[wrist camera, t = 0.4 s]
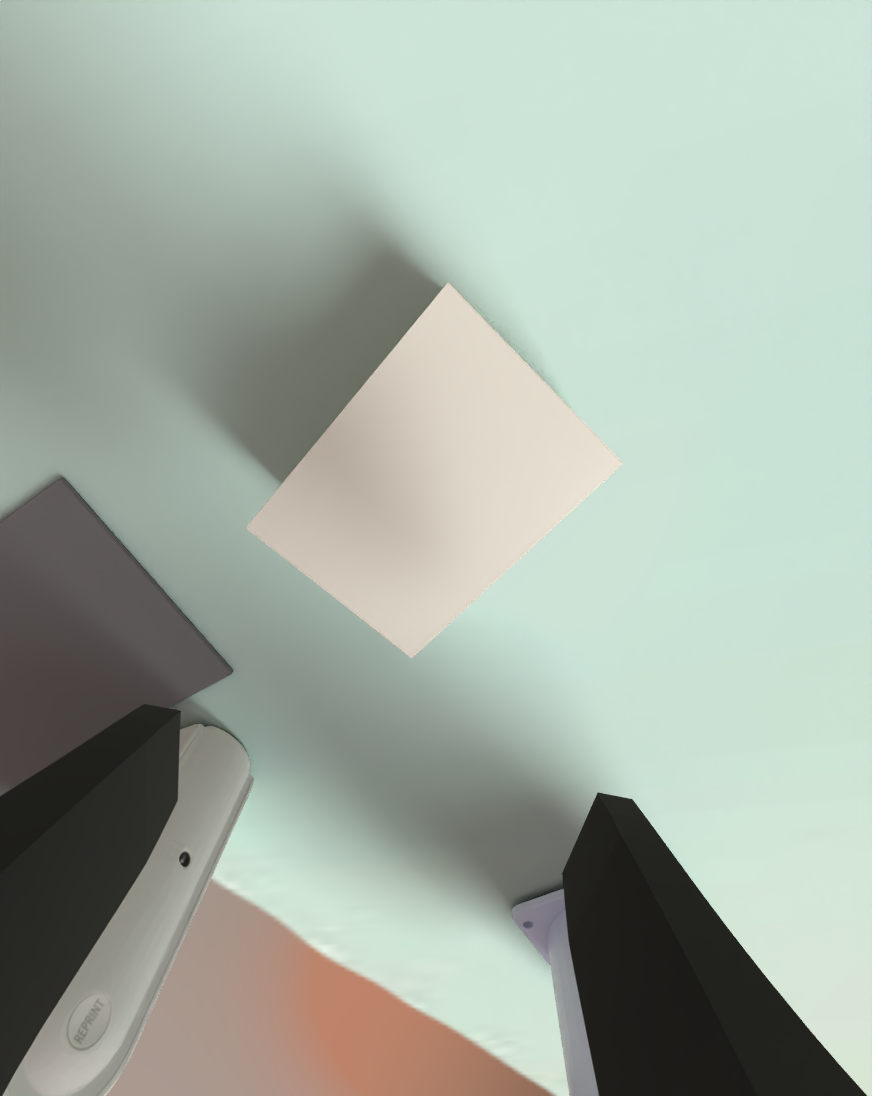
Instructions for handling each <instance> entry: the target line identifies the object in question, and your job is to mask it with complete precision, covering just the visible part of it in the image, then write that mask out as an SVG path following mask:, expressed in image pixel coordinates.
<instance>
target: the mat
mask: <svg viewBox="0 0 872 1096" xmlns="http://www.w3.org/2000/svg"><path fill="white" fill-rule="evenodd" d="M232 672H233V670H232V669H231V668H230V666H229V665H228V664H227V663H226V662H225V661H224V660H223V658H222V657H221V656H220V655H219V654H218V653H217V652H216V651H215V649H214V648H213V647H212V646H211V645H210V644H209V643H208V641H207V640H206V639H205V638H204V637H203V636H202V635H201V633H200V632H199V631H198V630H197V629H196V628H195V627H194V625H193V624H192V623H191V622H190V621H189V620H188V619H187V617H186V616H185V615H184V614H183V613H182V612H181V611H180V610H179V608H178V607H177V606H176V605H175V604H174V603H173V602H172V600H171V599H170V598H169V597H168V596H167V595H166V594H165V592H164V591H163V590H162V589H161V588H160V587H159V586H158V584H157V583H156V582H155V581H154V580H153V579H152V578H151V576H150V575H149V574H148V573H147V572H146V571H145V570H144V568H143V567H142V566H141V565H140V564H139V563H138V562H137V561H136V559H135V558H134V557H133V556H132V555H131V554H130V553H129V551H128V550H127V549H126V548H125V547H124V546H123V545H122V543H121V542H120V541H119V540H118V539H117V538H116V537H115V535H114V534H113V533H112V532H111V531H110V530H109V529H108V527H107V526H106V525H105V524H104V523H103V522H102V521H101V520H100V518H99V517H98V516H97V515H96V514H95V513H94V512H93V510H92V509H91V508H90V507H89V506H88V505H87V504H86V502H85V501H84V500H83V499H82V498H81V497H80V496H79V494H78V493H77V492H76V491H75V490H74V489H73V488H72V486H71V485H70V484H69V483H68V482H67V481H66V480H65V478H62V479H60V480H58V481H57V482H55V483H54V484H53V485H51V486H50V487H48V488H47V489H46V490H44V491H43V492H42V493H40V494H39V495H37V496H36V497H35V498H33V499H32V500H30V501H29V502H28V503H26V504H25V505H24V506H22V507H21V508H19V509H18V510H17V511H15V512H14V513H12V514H11V515H10V516H8V517H7V518H6V519H4V520H3V521H1V522H0V796H1V795H2V794H4V793H5V792H7V791H9V790H10V789H12V788H13V787H15V786H17V785H18V784H20V783H21V782H23V781H25V780H26V779H28V778H29V777H31V776H33V775H34V774H36V773H37V772H39V771H40V770H42V769H44V768H45V767H47V766H48V765H50V764H52V763H53V762H55V761H56V760H58V759H59V758H61V757H62V756H64V755H66V754H67V753H69V752H70V751H72V750H73V749H75V748H76V747H78V746H79V745H81V744H82V743H84V742H86V741H87V740H89V739H90V738H92V737H93V736H95V735H96V734H98V733H99V732H101V731H102V730H104V729H105V728H107V727H108V726H110V725H112V724H113V723H115V722H116V721H118V720H119V719H121V718H122V717H124V716H125V715H127V714H129V713H130V712H132V711H133V710H135V709H137V708H138V707H140V706H141V705H143V704H148V705H153V706H158V707H163V708H169V707H171V706H173V705H174V704H176V703H178V702H180V701H182V700H184V699H186V698H187V697H189V696H191V695H193V694H195V693H197V692H198V691H200V690H202V689H204V688H206V687H208V686H210V685H211V684H213V683H215V682H217V681H219V680H221V679H223V678H224V677H226V676H228V675H230V674H231V673H232Z"/></svg>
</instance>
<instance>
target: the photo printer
mask: <svg viewBox="0 0 872 1096" xmlns="http://www.w3.org/2000/svg"><path fill="white" fill-rule="evenodd" d="M250 766H251V764H250V760H249V757H248V754H247V752H246V751H245V749H244V748H243V746H242V745H241V744H240V743H239V742H238V741H237V740H236V739H235V738H234V737H233V736H231V735H230V734H228V733H227V732H225V731H223V730H221V729H219V728H216V727H214V726H207V727H204V726H203V725H202V724H194V725H191V726H188V727H186V728H183V729H180V745H179V780H178V801H177V803H176V805H175V807H174V809H173V811H172V813H171V815H170V818H169V820H168V822H167V824H166V826H165V828H164V830H163V832H162V834H161V836H160V838H159V840H158V842H157V844H156V846H155V847H154V849H153V851H152V853H151V855H150V857H149V859H148V861H147V863H146V865H145V866H144V868H143V870H142V871H141V873H140V874H139V876H138V878H137V879H136V881H135V883H134V884H133V886H132V887H131V889H130V890H129V892H128V894H127V895H126V897H125V898H124V900H123V902H122V903H121V905H120V906H119V908H118V909H117V911H116V913H115V914H114V916H113V917H112V919H111V920H110V922H109V924H108V925H107V927H106V928H105V930H104V931H103V933H102V935H101V936H100V938H99V939H98V941H97V942H96V944H95V946H94V947H93V949H92V950H91V952H90V953H89V955H88V956H87V958H86V960H85V961H84V963H83V964H82V966H81V967H80V969H79V971H78V972H77V974H76V975H75V977H74V978H73V980H72V982H71V983H70V985H69V986H68V988H67V989H66V991H65V992H64V994H63V996H62V997H61V999H60V1000H59V1002H58V1003H57V1005H56V1007H55V1008H54V1010H53V1011H52V1013H51V1014H50V1016H49V1018H48V1019H47V1021H46V1022H45V1024H44V1025H43V1027H42V1029H41V1030H40V1032H39V1033H38V1035H37V1037H36V1039H35V1040H34V1042H33V1044H32V1045H31V1047H30V1049H29V1050H28V1052H27V1054H26V1055H25V1057H24V1059H23V1060H22V1062H21V1064H20V1065H19V1067H18V1069H17V1070H16V1072H15V1074H14V1076H13V1077H12V1079H11V1081H10V1083H9V1085H8V1087H7V1088H6V1090H5V1092H4V1094H3V1096H106V1095H107V1093H108V1092H109V1091H110V1089H111V1088H112V1087H113V1085H114V1084H115V1082H116V1081H117V1079H118V1078H119V1076H120V1075H121V1073H122V1072H123V1070H124V1068H125V1066H126V1064H127V1063H128V1061H129V1059H130V1057H131V1055H132V1053H133V1051H134V1049H135V1047H136V1044H137V1042H138V1040H139V1038H140V1036H141V1033H142V1031H143V1029H144V1026H145V1024H146V1022H147V1019H148V1017H149V1015H150V1013H151V1011H152V1008H153V1006H154V1004H155V1002H156V999H157V997H158V995H159V993H160V991H161V988H162V986H163V984H164V982H165V980H166V977H167V975H168V973H169V971H170V969H171V966H172V964H173V962H174V959H175V957H176V955H177V953H178V951H179V948H180V946H181V944H182V942H183V939H184V937H185V935H186V932H187V930H188V928H189V926H190V924H191V921H192V919H193V917H194V915H195V912H196V910H197V908H198V906H199V904H200V902H201V899H202V897H203V895H204V893H205V890H206V888H207V886H208V884H209V882H210V880H211V877H212V875H213V873H214V871H215V868H216V866H217V864H218V862H219V859H220V857H221V855H222V853H223V850H224V848H225V846H226V844H227V842H228V839H229V837H230V835H231V833H232V831H233V828H234V826H235V824H236V822H237V820H238V818H239V815H240V813H241V811H242V809H243V807H244V804H245V802H246V800H247V798H248V796H249V793H250V791H251V788H252V785H253V782H254V778H253V777H252V775H251V774H250V773H249V772H250Z"/></svg>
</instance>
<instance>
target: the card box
mask: <svg viewBox="0 0 872 1096" xmlns="http://www.w3.org/2000/svg"><path fill="white" fill-rule="evenodd" d="M622 464H623V462H622V461H621V460H620V459H619V458H618V457H617V456H616V455H615V454H614V453H613V452H612V451H611V450H610V449H609V448H608V447H607V446H606V445H605V444H604V443H603V442H602V441H601V440H600V438H599V437H598V436H597V435H596V434H595V433H594V432H593V431H592V430H591V429H590V428H589V427H588V426H587V425H586V424H585V423H584V422H583V421H582V420H581V419H580V418H579V417H578V416H577V415H576V414H575V413H574V412H573V411H572V410H571V409H570V408H569V407H568V405H567V404H566V403H565V402H564V401H563V400H562V399H561V398H560V397H559V396H558V395H557V394H556V393H555V392H554V391H553V390H552V389H551V388H550V387H549V386H548V385H547V384H546V383H545V382H544V381H543V380H542V379H541V378H540V377H539V376H538V375H537V374H536V372H535V371H534V370H533V369H532V368H531V367H530V366H529V365H528V364H527V363H526V362H525V361H524V360H523V359H522V358H521V357H520V356H519V355H518V354H517V353H516V352H515V351H514V350H513V349H512V348H511V347H510V346H509V345H508V344H507V343H506V342H505V341H504V339H503V338H502V337H501V336H500V335H499V334H498V333H497V332H496V331H495V330H494V329H493V328H492V327H491V326H490V325H489V324H488V323H487V322H486V321H485V320H484V319H483V318H482V317H481V316H480V315H479V314H478V313H477V312H476V311H475V310H474V309H473V308H472V306H471V305H470V304H469V303H468V302H467V301H466V300H465V299H464V298H463V297H462V296H461V295H460V294H459V293H458V292H457V291H456V290H455V289H454V288H453V287H452V286H451V285H450V284H449V283H447V284H446V285H445V287H444V288H443V289H442V290H441V291H440V293H439V294H438V295H437V296H436V298H435V299H434V300H433V301H432V302H431V304H430V305H429V306H428V307H427V308H426V310H425V311H424V312H423V313H422V314H421V316H420V317H419V318H418V319H417V321H416V322H415V323H414V324H413V325H412V327H411V328H410V329H409V330H408V331H407V333H406V334H405V335H404V336H403V338H402V339H401V340H400V341H399V342H398V344H397V345H396V346H395V347H394V348H393V350H392V351H391V352H390V353H389V355H388V356H387V357H386V358H385V359H384V361H383V362H382V363H381V364H380V365H379V367H378V368H377V369H376V370H375V371H374V373H373V374H372V375H371V376H370V378H369V379H368V380H367V381H366V382H365V384H364V385H363V386H362V387H361V388H360V390H359V391H358V392H357V393H356V395H355V396H354V397H353V398H352V399H351V401H350V402H349V403H348V404H347V405H346V407H345V408H344V409H343V410H342V412H341V413H340V414H339V415H338V416H337V418H336V419H335V420H334V421H333V422H332V424H331V425H330V426H329V427H328V428H327V430H326V431H325V432H324V433H323V435H322V436H321V437H320V438H319V439H318V441H317V442H316V443H315V444H314V445H313V447H312V448H311V449H310V450H309V452H308V453H307V454H306V455H305V456H304V458H303V459H302V460H301V461H300V462H299V464H298V465H297V466H296V467H295V469H294V470H293V471H292V472H291V473H290V475H289V476H288V477H287V478H286V479H285V481H284V482H283V483H282V484H281V485H280V487H279V488H278V489H277V490H276V492H275V493H274V494H273V495H272V496H271V498H270V499H269V500H268V501H267V502H266V504H265V505H264V506H263V507H262V509H261V510H260V511H259V512H258V513H257V515H256V516H255V517H254V518H253V519H252V521H251V522H250V523H249V524H248V526H247V527H246V529H247V530H249V531H250V532H251V533H253V534H254V535H255V536H256V537H258V538H259V539H260V540H261V541H263V542H264V543H265V544H267V545H268V546H269V547H270V548H272V549H273V550H274V551H275V552H277V553H278V554H279V555H281V556H282V557H283V558H284V559H286V560H287V561H288V562H290V563H291V564H292V565H293V566H295V567H296V568H297V569H298V570H300V571H301V572H302V573H304V574H305V575H306V576H307V577H309V578H310V579H311V580H312V581H314V582H315V583H316V584H318V585H319V586H320V587H321V588H323V589H324V590H325V591H326V592H328V593H329V594H330V595H332V596H333V597H334V598H335V599H337V600H338V601H339V602H340V603H342V604H343V605H344V606H346V607H347V608H348V609H349V610H351V611H352V612H353V613H355V614H356V615H357V616H358V617H360V618H361V619H362V620H363V621H365V622H366V623H367V624H369V625H370V626H371V627H372V628H374V629H375V630H376V631H377V632H379V633H380V634H381V635H383V636H384V637H385V638H386V639H388V640H389V641H390V642H391V643H393V644H394V645H395V646H397V647H398V648H399V649H400V650H402V651H403V652H404V653H405V654H407V655H408V656H409V657H411V658H413V657H414V656H415V655H416V654H417V653H418V652H420V651H421V650H422V649H423V648H424V647H425V646H426V645H427V644H428V643H429V642H430V641H431V640H433V639H434V638H435V637H436V636H437V635H438V634H439V633H440V632H441V631H442V630H443V629H444V628H446V627H447V626H448V625H449V624H450V623H451V622H452V621H453V620H454V619H455V618H456V617H457V616H459V615H460V614H461V613H462V612H463V611H464V610H465V609H466V608H467V607H468V606H469V605H470V604H472V603H473V602H474V601H475V600H476V599H477V598H478V597H479V596H480V595H481V594H482V593H484V592H485V591H486V590H487V589H488V588H489V587H490V586H491V585H492V584H493V583H494V582H495V581H497V580H498V579H499V578H500V577H501V576H502V575H503V574H504V573H505V572H506V571H507V570H508V569H510V568H511V567H512V566H513V565H514V564H515V563H516V562H517V561H518V560H519V559H520V558H521V557H523V556H524V555H525V554H526V553H527V552H528V551H529V550H530V549H531V548H532V547H533V546H535V545H536V544H537V543H538V542H539V541H540V540H541V539H542V538H543V537H544V536H545V535H546V534H548V533H549V532H550V531H551V530H552V529H553V528H554V527H555V526H556V525H557V524H558V523H559V522H561V521H562V520H563V519H564V518H565V517H566V516H567V515H568V514H569V513H570V512H571V511H572V510H574V509H575V508H576V507H577V506H578V505H579V504H580V503H581V502H582V501H583V500H584V499H586V498H587V497H588V496H589V495H590V494H591V493H592V492H593V491H594V490H595V489H596V488H597V487H599V486H600V485H601V484H602V483H603V482H604V481H605V480H606V479H607V478H608V477H609V476H610V475H612V474H613V473H614V472H615V471H616V470H617V469H618V468H619V467H620V466H621V465H622Z"/></svg>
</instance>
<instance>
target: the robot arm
mask: <svg viewBox="0 0 872 1096" xmlns="http://www.w3.org/2000/svg"><path fill="white" fill-rule="evenodd" d="M179 745H180V711H179V710H173V709H168V708H163V707H158V706H153V705H148V704H143V705H141V706H140V707H138V708H137V709H135V710H133V711H132V712H130V713H129V714H127V715H125V716H124V717H122V718H121V719H119V720H118V721H116V722H115V723H113V724H112V725H110V726H108V727H107V728H105V729H104V730H102V731H101V732H99V733H98V734H96V735H95V736H93V737H92V738H90V739H89V740H87V741H86V742H84V743H82V744H81V745H79V746H78V747H76V748H75V749H73V750H72V751H70V752H69V753H67V754H66V755H64V756H62V757H61V758H59V759H58V760H56V761H55V762H53V763H52V764H50V765H48V766H47V767H45V768H44V769H42V770H40V771H39V772H37V773H36V774H34V775H33V776H31V777H29V778H28V779H26V780H25V781H23V782H21V783H20V784H18V785H17V786H15V787H13V788H12V789H10V790H9V791H7V792H5V793H4V794H2V795H1V796H0V1096H3V1094H4V1092H5V1090H6V1088H7V1087H8V1085H9V1083H10V1081H11V1079H12V1077H13V1076H14V1074H15V1072H16V1070H17V1069H18V1067H19V1065H20V1064H21V1062H22V1060H23V1059H24V1057H25V1055H26V1054H27V1052H28V1050H29V1049H30V1047H31V1045H32V1044H33V1042H34V1040H35V1039H36V1037H37V1035H38V1033H39V1032H40V1030H41V1029H42V1027H43V1025H44V1024H45V1022H46V1021H47V1019H48V1018H49V1016H50V1014H51V1013H52V1011H53V1010H54V1008H55V1007H56V1005H57V1003H58V1002H59V1000H60V999H61V997H62V996H63V994H64V992H65V991H66V989H67V988H68V986H69V985H70V983H71V982H72V980H73V978H74V977H75V975H76V974H77V972H78V971H79V969H80V967H81V966H82V964H83V963H84V961H85V960H86V958H87V956H88V955H89V953H90V952H91V950H92V949H93V947H94V946H95V944H96V942H97V941H98V939H99V938H100V936H101V935H102V933H103V931H104V930H105V928H106V927H107V925H108V924H109V922H110V920H111V919H112V917H113V916H114V914H115V913H116V911H117V909H118V908H119V906H120V905H121V903H122V902H123V900H124V898H125V897H126V895H127V894H128V892H129V890H130V889H131V887H132V886H133V884H134V883H135V881H136V879H137V878H138V876H139V874H140V873H141V871H142V870H143V868H144V866H145V865H146V863H147V861H148V859H149V857H150V855H151V853H152V851H153V849H154V847H155V846H156V844H157V842H158V840H159V838H160V836H161V834H162V832H163V830H164V828H165V826H166V824H167V822H168V820H169V818H170V815H171V813H172V811H173V809H174V807H175V805H176V803H177V801H178V780H179ZM562 875H563V887H564V888H563V889H561V890H558V891H555V892H552V893H549V894H546V895H543V896H541V897H538V898H535V899H532V900H529V901H526V902H523V903H521V904H518V905H516V906H514V908H513V909H512V918H513V920H514V922H515V923H516V924H517V925H518V927H519V928H520V929H521V930H522V932H523V933H524V934H525V935H526V936H527V938H528V939H529V940H530V941H531V943H532V944H533V945H534V946H535V948H536V949H537V950H538V951H539V952H540V954H541V955H542V956H543V957H544V959H545V960H546V961H547V962H548V963H549V965H550V966H551V972H552V979H553V986H554V993H555V999H556V1006H557V1013H558V1020H559V1027H560V1033H561V1040H562V1047H563V1054H564V1061H565V1067H566V1074H567V1081H568V1088H569V1094H570V1096H867V1095H866V1094H865V1093H864V1092H863V1091H862V1090H861V1088H860V1087H859V1086H858V1085H857V1084H856V1083H855V1082H854V1081H853V1079H852V1078H851V1077H850V1076H849V1075H848V1074H847V1073H846V1072H845V1071H844V1069H843V1068H842V1067H841V1066H840V1065H839V1064H838V1063H837V1062H836V1060H835V1059H834V1058H833V1057H832V1056H831V1055H830V1053H829V1052H828V1051H827V1050H826V1049H825V1048H824V1046H823V1045H822V1044H821V1043H820V1042H819V1041H818V1039H817V1038H816V1037H815V1036H814V1035H813V1034H812V1032H811V1031H810V1030H809V1029H808V1028H807V1026H806V1025H805V1024H804V1023H803V1021H802V1020H801V1019H800V1018H799V1017H798V1015H797V1014H796V1013H795V1012H794V1011H793V1009H792V1008H791V1007H790V1006H789V1004H788V1003H787V1002H786V1001H785V1000H784V998H783V997H782V996H781V995H780V993H779V992H778V991H777V990H776V989H775V987H774V986H773V985H772V984H771V982H770V981H769V980H768V979H767V978H766V976H765V975H764V974H763V973H762V971H761V970H760V969H759V968H758V966H757V965H756V964H755V962H754V961H753V960H752V959H751V957H750V956H749V955H748V954H747V952H746V951H745V950H744V948H743V947H742V946H741V945H740V943H739V942H738V941H737V939H736V938H735V937H734V936H733V934H732V933H731V932H730V930H729V929H728V928H727V926H726V925H725V924H724V923H723V921H722V920H721V919H720V917H719V916H718V915H717V913H716V912H715V911H714V909H713V908H712V907H711V905H710V904H709V903H708V901H707V900H706V899H705V897H704V896H703V895H702V893H701V892H700V891H699V889H698V888H697V887H696V885H695V884H694V882H693V881H692V880H691V878H690V877H689V876H688V874H687V873H686V872H685V870H684V869H683V867H682V866H681V865H680V863H679V862H678V861H677V859H676V858H675V857H674V855H673V854H672V852H671V851H670V850H669V848H668V847H667V846H666V844H665V843H664V841H663V840H662V839H661V837H660V836H659V835H658V833H657V832H656V830H655V829H654V828H653V826H652V825H651V824H650V822H649V821H648V820H647V818H646V817H645V816H644V814H643V813H642V812H641V810H640V809H639V808H638V806H637V805H636V804H635V802H634V801H633V800H632V799H628V798H623V797H618V796H613V795H608V794H603V793H597V796H596V798H595V800H594V802H593V805H592V807H591V809H590V811H589V814H588V816H587V818H586V821H585V823H584V825H583V827H582V830H581V832H580V834H579V836H578V839H577V841H576V843H575V846H574V848H573V850H572V852H571V855H570V857H569V859H568V861H567V864H566V866H565V868H564V871H563V873H562Z"/></svg>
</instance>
